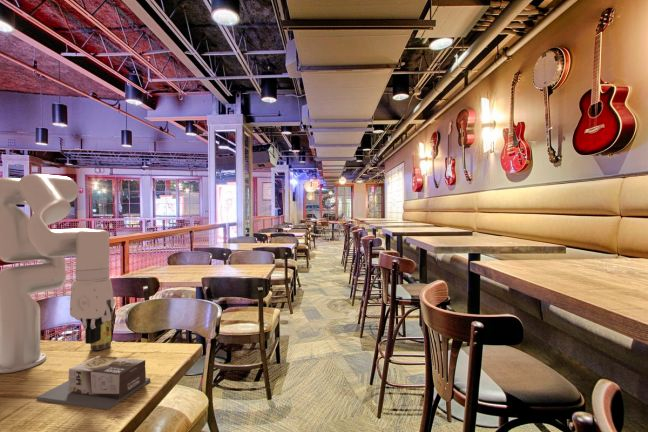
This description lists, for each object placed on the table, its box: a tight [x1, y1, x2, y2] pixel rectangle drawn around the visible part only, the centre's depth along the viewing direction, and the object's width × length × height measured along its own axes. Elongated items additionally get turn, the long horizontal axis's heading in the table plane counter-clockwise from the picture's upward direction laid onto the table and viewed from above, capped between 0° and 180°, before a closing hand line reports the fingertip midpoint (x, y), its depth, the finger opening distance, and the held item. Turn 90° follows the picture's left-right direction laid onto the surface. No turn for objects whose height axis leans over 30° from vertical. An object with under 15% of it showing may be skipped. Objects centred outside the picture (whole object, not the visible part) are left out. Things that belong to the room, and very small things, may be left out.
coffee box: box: [68, 355, 147, 399], centre depth 86 cm, size 9×6×16 cm
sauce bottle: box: [90, 319, 112, 351], centre depth 115 cm, size 6×6×20 cm
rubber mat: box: [36, 377, 151, 411], centre depth 87 cm, size 22×14×1 cm, turn 78°
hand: (93, 341), depth 87 cm, fingers closed
